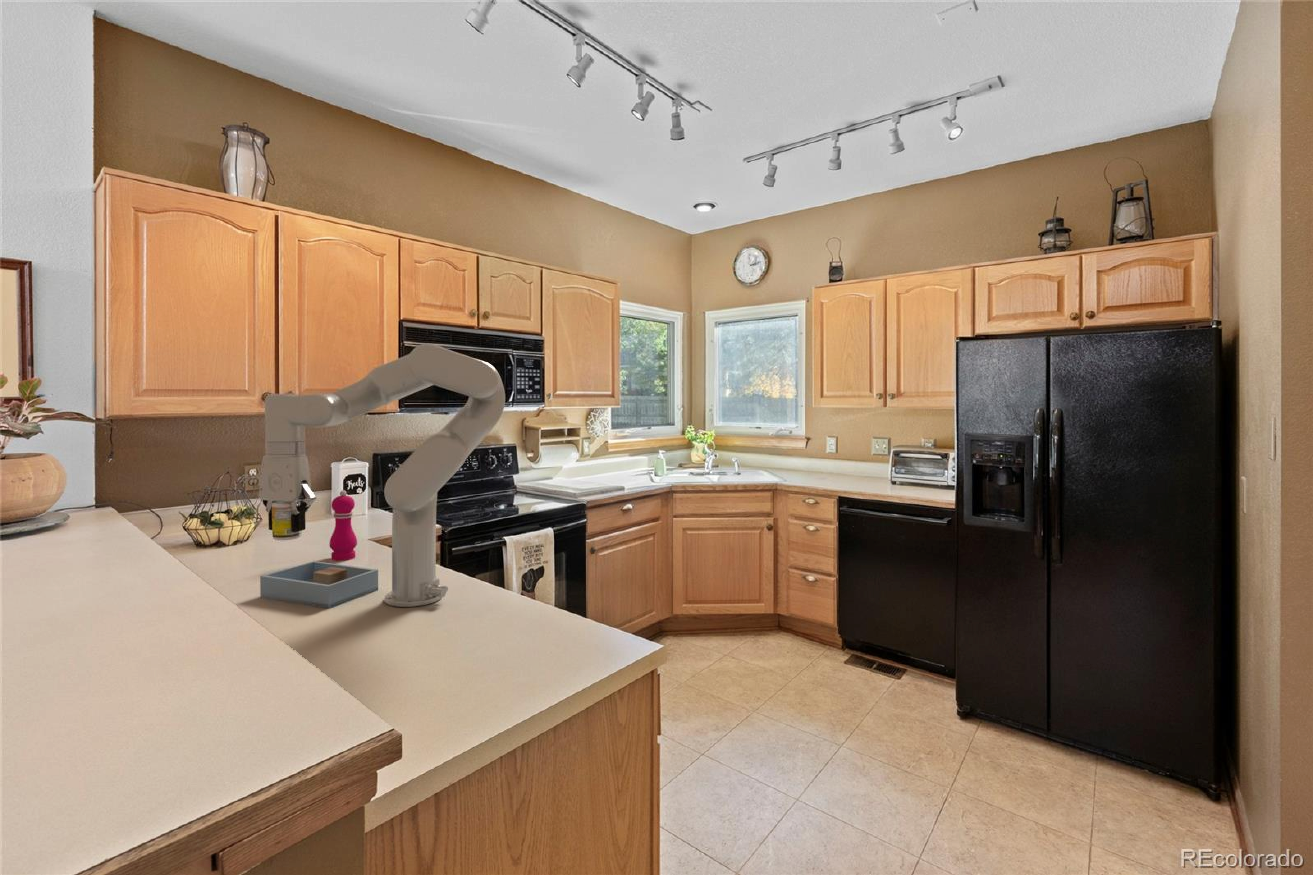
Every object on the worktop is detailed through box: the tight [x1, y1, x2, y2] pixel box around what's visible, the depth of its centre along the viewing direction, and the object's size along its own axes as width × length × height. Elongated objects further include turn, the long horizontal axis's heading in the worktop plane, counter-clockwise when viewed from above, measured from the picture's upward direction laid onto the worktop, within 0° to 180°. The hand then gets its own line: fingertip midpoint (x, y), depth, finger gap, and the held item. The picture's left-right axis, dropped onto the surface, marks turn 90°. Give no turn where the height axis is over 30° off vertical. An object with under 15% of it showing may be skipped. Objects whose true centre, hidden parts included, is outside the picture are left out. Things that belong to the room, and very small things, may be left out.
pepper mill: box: [328, 489, 358, 562], centre depth 175 cm, size 7×7×20 cm
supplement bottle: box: [271, 501, 302, 541], centre depth 134 cm, size 6×6×10 cm
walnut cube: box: [313, 567, 347, 585], centre depth 143 cm, size 5×5×5 cm
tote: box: [259, 560, 379, 609], centre depth 144 cm, size 21×15×5 cm
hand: (287, 529), depth 134 cm, fingers closed on supplement bottle, 5 cm apart
